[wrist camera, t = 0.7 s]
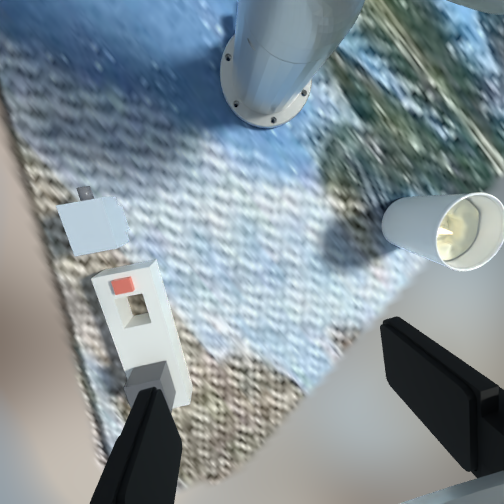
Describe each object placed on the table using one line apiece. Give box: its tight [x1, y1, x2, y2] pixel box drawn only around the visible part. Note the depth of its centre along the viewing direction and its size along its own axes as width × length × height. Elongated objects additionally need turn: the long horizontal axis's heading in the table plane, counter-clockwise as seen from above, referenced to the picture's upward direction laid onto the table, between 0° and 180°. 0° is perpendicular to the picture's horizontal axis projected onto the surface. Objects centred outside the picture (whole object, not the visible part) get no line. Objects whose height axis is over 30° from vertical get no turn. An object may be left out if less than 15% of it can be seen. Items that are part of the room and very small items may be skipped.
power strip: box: [91, 259, 193, 408], centre depth 39 cm, size 24×8×5 cm, turn 10°
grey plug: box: [56, 186, 130, 256], centre depth 33 cm, size 8×5×8 cm, turn 10°
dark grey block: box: [124, 361, 176, 413], centre depth 40 cm, size 8×5×8 cm, turn 10°
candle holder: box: [382, 192, 504, 271], centre depth 37 cm, size 10×10×12 cm
